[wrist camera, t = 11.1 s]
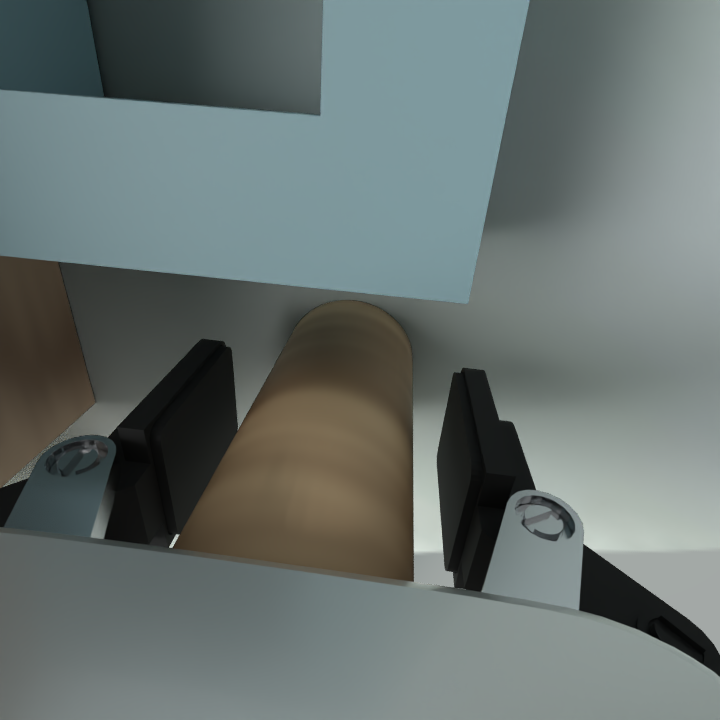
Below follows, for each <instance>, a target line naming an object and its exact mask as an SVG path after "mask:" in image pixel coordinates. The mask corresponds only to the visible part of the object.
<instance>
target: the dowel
mask: <svg viewBox="0 0 720 720" xmlns="http://www.w3.org/2000/svg"><path fill="white" fill-rule="evenodd" d="M173 548H175V549H182V550H190V551H197V552H205V553H212V554H219V555H226V556H234V557H241V558H248V559H255V560H263V561H270V562H277V563H284V564H291V565H299V566H306V567H313V568H320V569H327V570H334V571H341V572H348V573H355V574H362V575H369V576H376V577H383V578H390V579H397V580H404V581H411V582H414V561H413V560H414V539H413V358H412V349H411V345H410V342H409V339H408V337H407V335H406V333H405V331H404V330H403V328H402V327H401V326H400V324H399V323H398V322H397V321H396V320H395V319H394V318H393V317H392V316H390V315H389V314H388V313H387V312H385V311H383V310H382V309H380V308H378V307H376V306H373V305H371V304H368V303H364V302H360V301H354V300H341V301H334V302H329V303H326V304H323V305H320V306H318V307H316V308H315V309H313V310H311V311H310V312H309V313H307V314H306V315H305V316H304V317H303V318H302V319H301V320H300V321H299V323H298V324H297V325H296V327H295V329H294V331H293V333H292V334H291V336H290V338H289V340H288V342H287V343H286V345H285V347H284V349H283V350H282V352H281V354H280V356H279V358H278V359H277V361H276V363H275V365H274V367H273V368H272V370H271V372H270V374H269V376H268V377H267V379H266V381H265V383H264V385H263V386H262V388H261V390H260V392H259V394H258V395H257V397H256V399H255V401H254V403H253V404H252V406H251V408H250V410H249V412H248V413H247V415H246V417H245V419H244V420H243V422H242V424H241V426H240V428H239V429H238V431H237V433H236V435H235V437H234V438H233V440H232V442H231V444H230V446H229V447H228V449H227V451H226V453H225V455H224V456H223V458H222V460H221V462H220V464H219V465H218V467H217V469H216V471H215V473H214V474H213V476H212V478H211V480H210V482H209V483H208V485H207V487H206V489H205V490H204V492H203V494H202V496H201V498H200V499H199V501H198V503H197V505H196V507H195V508H194V510H193V512H192V514H191V516H190V517H189V519H188V521H187V523H186V525H185V526H184V528H183V530H182V532H181V534H180V535H179V537H178V539H177V541H176V543H175V544H174V546H173Z"/></svg>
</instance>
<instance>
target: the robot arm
mask: <svg viewBox="0 0 720 720" xmlns="http://www.w3.org/2000/svg"><path fill="white" fill-rule="evenodd" d="M237 430H238V423H237V410H236V398H235V385H234V372H233V360H232V350H231V348H230V347H226V345H225V343H224V342H223V341H217V340H208V339H201V340H200V341H199V342H198V343H197V344H196V345H195V346H194V347H193V348H192V349H191V350H190V351H189V352H188V353H187V354H186V356H185V357H184V358H183V359H182V360H181V361H180V362H179V363H178V364H177V365H176V366H175V367H174V368H173V369H172V370H171V371H170V372H169V373H168V374H167V375H166V376H165V377H164V379H163V380H162V381H161V382H160V383H159V384H158V385H157V386H156V387H155V388H154V389H153V390H152V391H151V392H150V393H149V394H148V395H147V396H146V397H145V398H144V399H143V400H142V402H141V403H140V404H139V405H138V406H137V407H136V408H135V409H134V410H133V411H132V412H131V413H130V414H129V415H128V416H127V417H126V418H125V419H124V420H123V421H122V422H121V423H120V425H119V426H118V427H117V428H116V429H115V430H114V432H113V433H112V434H111V435H110V436H109V437H108V438H107V437H104V436H99V435H85V436H80V437H74V438H71V439H68V440H65V441H63V442H61V443H59V444H57V445H55V446H53V447H51V448H50V449H49V450H47V451H46V452H45V453H44V454H43V455H42V456H41V457H40V459H39V460H38V461H37V463H36V465H35V467H34V469H33V471H32V473H31V475H30V477H29V478H28V479H25V480H22V481H20V482H17V483H14V484H11V485H8V486H5V487H2V488H0V720H720V655H719V653H718V651H717V649H716V647H715V646H714V644H713V643H712V642H711V641H710V639H709V638H708V637H707V636H706V635H705V634H704V632H703V631H702V630H700V629H699V628H698V627H697V626H696V625H695V624H693V623H692V622H691V621H690V620H689V619H687V618H686V617H685V616H683V615H682V614H680V613H679V612H678V611H676V610H675V609H673V608H672V607H671V606H669V605H668V604H666V603H665V602H664V601H662V600H661V599H659V598H658V597H657V596H655V595H654V594H652V593H651V592H650V591H648V590H647V589H646V588H644V587H643V586H641V585H640V584H639V583H637V582H636V581H634V580H633V579H631V578H630V577H629V576H627V575H626V574H625V573H623V572H622V571H620V570H619V569H618V568H616V567H615V566H613V565H612V564H610V563H609V562H608V561H606V560H605V559H604V558H602V557H601V556H599V555H598V554H597V553H595V552H594V551H592V550H591V549H590V548H588V547H587V546H585V545H584V544H583V541H584V529H583V523H582V521H581V519H580V518H579V516H578V514H577V513H576V512H575V511H574V510H573V509H572V508H571V507H570V506H569V505H568V504H567V503H565V502H564V501H562V500H561V499H560V498H557V497H555V496H553V495H551V494H549V493H546V492H542V491H538V490H536V488H535V485H534V482H533V479H532V477H531V474H530V471H529V468H528V465H527V462H526V459H525V456H524V453H523V450H522V447H521V444H520V441H519V438H518V435H517V432H516V429H515V426H514V424H513V423H512V422H509V421H501V420H499V418H498V414H497V411H496V407H495V404H494V401H493V397H492V394H491V390H490V387H489V384H488V380H487V377H486V373H485V371H484V370H477V369H468V368H463V369H462V371H461V373H456V372H454V374H453V378H452V383H451V388H450V393H449V398H448V403H447V408H446V413H445V417H444V422H443V427H442V432H441V437H440V442H439V447H438V453H437V472H438V485H439V499H440V512H441V525H442V539H443V552H444V565H445V570H446V571H451V572H453V578H454V588H452V587H445V586H439V585H432V584H425V583H418V582H411V581H404V580H397V579H390V578H383V577H376V576H369V575H362V574H355V573H348V572H341V571H334V570H327V569H320V568H313V567H306V566H299V565H291V564H284V563H277V562H270V561H263V560H255V559H248V558H241V557H234V556H226V555H219V554H212V553H205V552H197V551H190V550H182V549H175V548H169V546H170V544H171V542H172V541H173V539H174V537H175V535H176V534H181V532H182V530H183V528H184V526H185V525H186V523H187V521H188V519H189V517H190V516H191V514H192V512H193V510H194V508H195V507H196V505H197V503H198V501H199V499H200V498H201V496H202V494H203V492H204V490H205V489H206V487H207V485H208V483H209V482H210V480H211V478H212V476H213V474H214V473H215V471H216V469H217V467H218V465H219V464H220V462H221V460H222V458H223V456H224V455H225V453H226V451H227V449H228V447H229V446H230V444H231V442H232V440H233V438H234V437H235V435H236V433H237ZM458 588H461V589H458ZM465 589H466V590H465Z"/></svg>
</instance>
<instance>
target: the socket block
mask: <svg viewBox="0 0 720 720" xmlns="http://www.w3.org/2000/svg"><path fill="white" fill-rule="evenodd" d="M529 2H530V0H323V22H322V64H321V106H320V114H308V113H296V112H284V111H271V110H259V109H247V108H235V107H222V106H210V105H198V104H186V103H173V102H161V101H149V100H137V99H124V98H112V97H104V94H103V88H102V83H101V77H100V72H99V66H98V61H97V55H96V50H95V44H94V39H93V33H92V28H91V22H90V16H89V11H88V5H87V0H0V256H9V257H19V258H28V259H38V260H48V261H57V262H67V263H77V264H86V265H96V266H106V267H115V268H125V269H135V270H144V271H154V272H164V273H173V274H183V275H193V276H202V277H212V278H222V279H231V280H241V281H251V282H260V283H270V284H280V285H289V286H299V287H309V288H318V289H328V290H338V291H347V292H357V293H367V294H376V295H386V296H396V297H405V298H415V299H425V300H434V301H444V302H454V303H463V304H468V302H469V297H470V292H471V287H472V282H473V277H474V272H475V267H476V262H477V257H478V253H479V248H480V243H481V238H482V233H483V228H484V223H485V218H486V213H487V208H488V203H489V198H490V193H491V189H492V184H493V179H494V174H495V169H496V164H497V159H498V154H499V149H500V144H501V139H502V134H503V129H504V125H505V120H506V115H507V110H508V105H509V100H510V95H511V90H512V85H513V80H514V75H515V70H516V66H517V61H518V56H519V51H520V46H521V41H522V36H523V31H524V26H525V21H526V16H527V11H528V6H529Z"/></svg>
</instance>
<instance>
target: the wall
mask: <svg viewBox="0 0 720 720" xmlns="http://www.w3.org/2000/svg"><path fill="white" fill-rule="evenodd" d="M94 404H95V399H94V395H93V391H92V388H91V384H90V380H89V376H88V373H87V369H86V365H85V361H84V358H83V354H82V350H81V346H80V343H79V339H78V335H77V331H76V328H75V324H74V320H73V316H72V313H71V309H70V305H69V301H68V298H67V294H66V290H65V286H64V283H63V279H62V275H61V271H60V268H59V264H58V262H57V261H48V260H38V259H28V258H19V257H9V256H0V488H1V487H2V486H3V485H5V484H6V483H7V482H8V481H9V480H10V479H11V478H12V477H13V476H15V475H16V474H17V473H18V472H19V471H20V470H21V469H22V468H23V467H25V466H26V465H27V464H28V463H29V462H30V461H31V460H32V459H34V458H35V457H36V456H37V455H38V454H39V453H40V452H41V451H42V450H44V449H45V448H46V447H47V446H48V445H49V444H50V443H51V442H52V441H54V440H55V439H56V438H57V437H58V436H59V435H60V434H61V433H62V432H64V431H65V430H66V429H67V428H68V427H69V426H70V425H71V424H73V423H74V422H75V421H76V420H77V419H78V418H79V417H80V416H81V415H83V414H84V413H85V412H86V411H87V410H88V409H89V408H90V407H91V406H93V405H94Z"/></svg>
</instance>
